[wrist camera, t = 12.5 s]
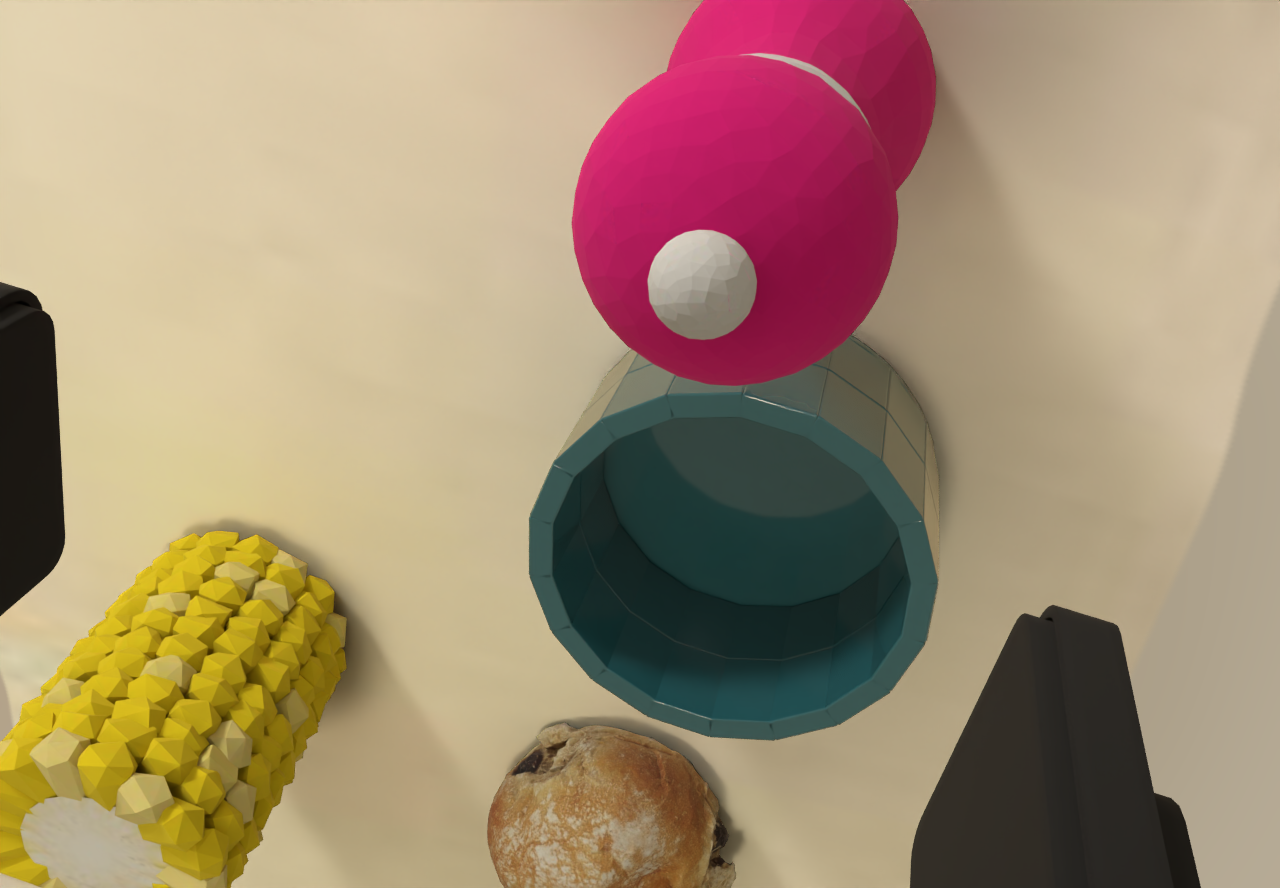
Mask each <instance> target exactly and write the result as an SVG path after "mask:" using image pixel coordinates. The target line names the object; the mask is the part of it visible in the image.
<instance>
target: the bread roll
mask: <svg viewBox="0 0 1280 888" xmlns="http://www.w3.org/2000/svg"><path fill="white" fill-rule="evenodd" d="M536 738H537V739H538V740H539V741H540V742H541V743H540V744H539V745H537V746H535V747H534V748H533V749H532V750H531V751H530V752H529V753H528V754H527V755H526V756H525V757H524V758H523V759H522V760H521V761H520V762H519V763H518V764H517V766H516V767H514V768H513V769H512V770H511V772H509V773H508V774H507V775H506V778H505V780H504V781H503V782H502V784H501V786H500V788H499V790H498V791H497V793H496V795H495V796H494V800H493V803H492V805H491V808H490V813H489V818H488V830H487V834H488V845H489V849H490V854H491V857H492V860H493V863H494V866H495V869H496V871H497V874H498V877H499V879H500V882H501V883H502V885H503V886H504V888H731V886H732V883H733V881H734V880H735V879H736V872H735V864H734V863H733V862H732V863H731V864H728V863H725V861H724V860H723V859H722V858H721V857H720V855H719V851H720V848H722V847H724V846H725V844H726V842H727V840H728V837H729V834H728V832H727V830H726V828H725V827H724V826H723V825H722V821H721V819H720V818H719V816H718V811H719V803H718V800H717V798H716V797H715V795H714V794H713V793H712V791H711V790H710V789H709V787H708V783H706V782H704V781H703V779H702V778H701V776H700V775H699V774H698V773H697V772H696V771H695V769H694V767H693V765H692V763H691V762H690V761H689V760H688V759H687V758H686V757H685V756H682V755H681V754H680V753H679V752H677V751H672V750H670V749H669V748H668V747H666V746H665V745H663V744H661V743H660V742H658V741H657V740H655V739H654V738H652V737H645V736H641V735H637V734H634V733H632V732H629V731H625V730H621V729H618V728H614V727H608V726H598V725H591V726H587V727H583V728H580V729H576V728H573V727H571V726H568V724H567V723H566V722H565V723H562V724H557V725H555V726H551V727H548V728H546V729H545V730H544V731H542V732H541V733H540V734H539V735H538V736H537V737H536Z"/></svg>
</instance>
